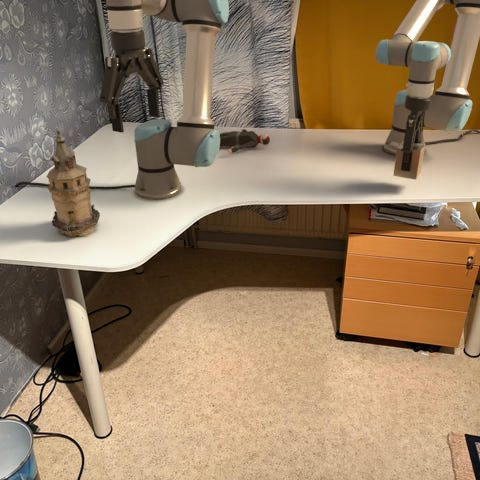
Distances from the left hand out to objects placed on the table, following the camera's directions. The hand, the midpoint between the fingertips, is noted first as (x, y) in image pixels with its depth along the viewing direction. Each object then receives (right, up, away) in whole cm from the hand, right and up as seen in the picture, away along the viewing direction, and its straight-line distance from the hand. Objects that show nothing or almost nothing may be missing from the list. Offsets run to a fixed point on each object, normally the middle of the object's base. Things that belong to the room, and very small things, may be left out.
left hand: (137, 123), depth 129 cm
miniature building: (-22, -25, +26) cm, 43 cm away
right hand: (+80, -4, +45) cm, 92 cm away
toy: (+22, +9, +86) cm, 89 cm away
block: (+80, -6, +46) cm, 93 cm away
